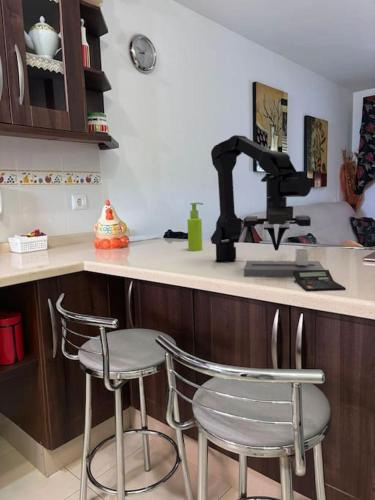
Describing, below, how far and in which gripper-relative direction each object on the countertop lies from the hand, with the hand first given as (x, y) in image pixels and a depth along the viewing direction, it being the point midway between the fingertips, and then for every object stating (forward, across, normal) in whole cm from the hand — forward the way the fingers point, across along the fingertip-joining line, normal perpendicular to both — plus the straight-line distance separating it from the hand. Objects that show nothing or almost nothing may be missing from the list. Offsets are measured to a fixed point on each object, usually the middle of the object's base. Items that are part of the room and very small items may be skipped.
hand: (276, 250), depth 113 cm
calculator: (+7, +10, -16) cm, 20 cm away
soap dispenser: (+7, -32, +43) cm, 54 cm away
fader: (+4, +7, 0) cm, 8 cm away
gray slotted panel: (+6, +2, 0) cm, 7 cm away
